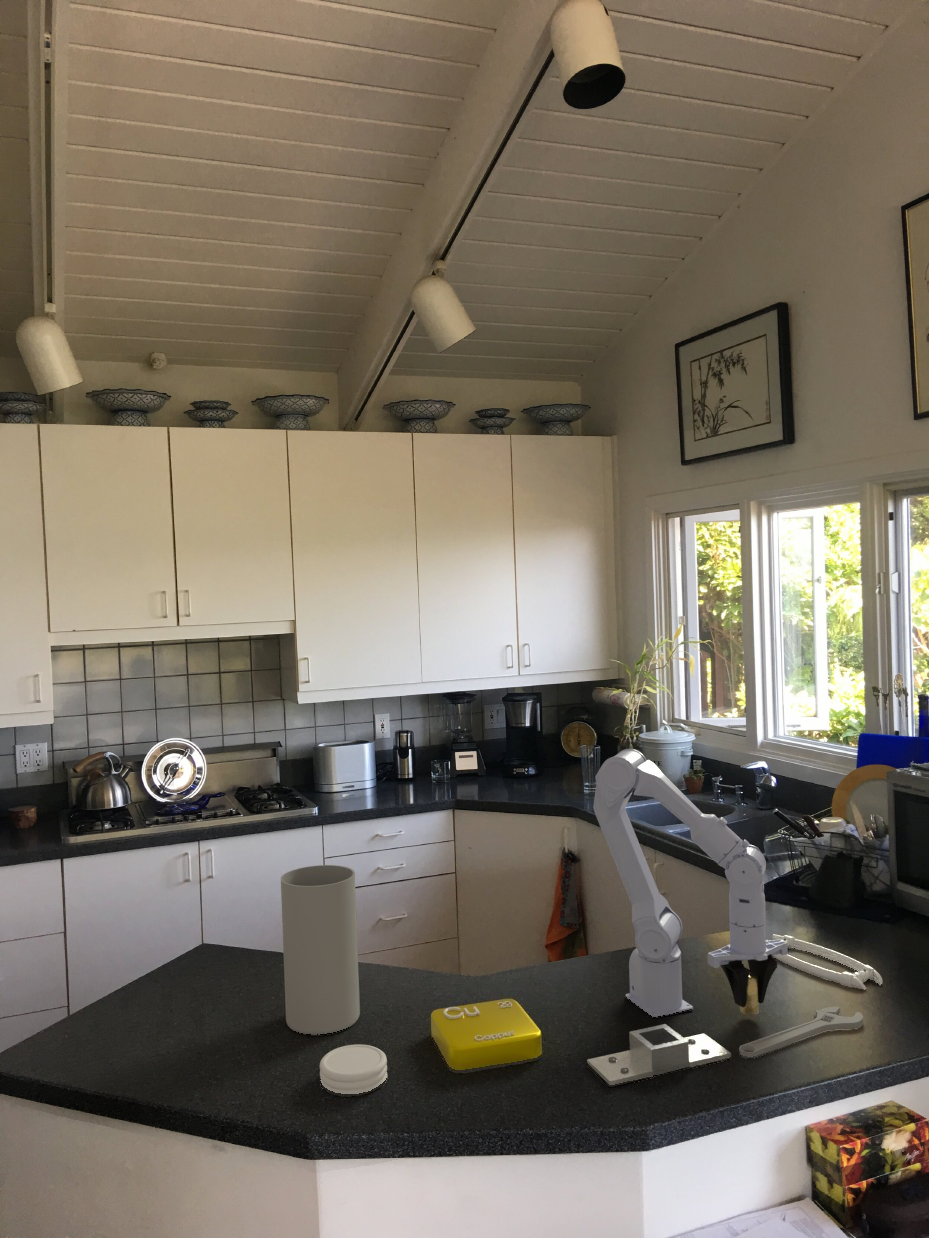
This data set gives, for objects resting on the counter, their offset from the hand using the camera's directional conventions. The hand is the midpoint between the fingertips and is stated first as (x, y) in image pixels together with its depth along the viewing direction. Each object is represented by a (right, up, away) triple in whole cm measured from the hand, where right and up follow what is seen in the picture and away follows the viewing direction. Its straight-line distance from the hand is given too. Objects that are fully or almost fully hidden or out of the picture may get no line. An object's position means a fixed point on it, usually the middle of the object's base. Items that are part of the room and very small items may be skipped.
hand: (749, 1002), depth 157 cm
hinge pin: (0, -1, 0) cm, 1 cm away
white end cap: (-64, -6, -16) cm, 66 cm away
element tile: (-44, -5, -6) cm, 45 cm away
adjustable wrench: (+6, -3, -6) cm, 9 cm away
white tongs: (+19, -2, +22) cm, 29 cm away
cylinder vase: (-71, -5, +5) cm, 72 cm away
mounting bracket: (-18, -4, -14) cm, 23 cm away
